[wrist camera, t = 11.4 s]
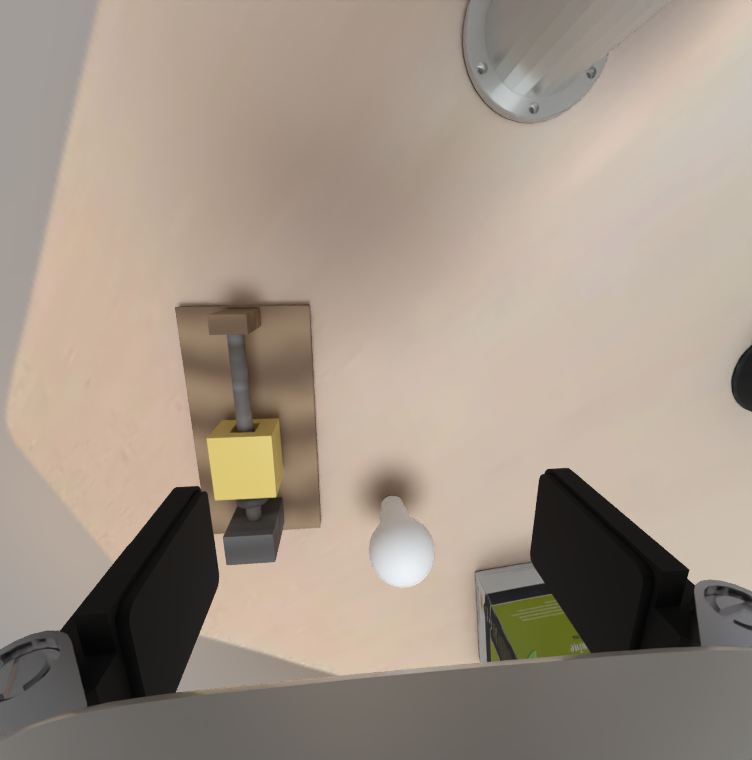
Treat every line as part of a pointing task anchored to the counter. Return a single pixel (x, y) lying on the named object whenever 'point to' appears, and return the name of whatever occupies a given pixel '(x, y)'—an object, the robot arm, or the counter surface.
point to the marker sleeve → (246, 460)
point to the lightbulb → (400, 546)
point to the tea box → (521, 617)
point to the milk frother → (743, 381)
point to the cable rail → (254, 413)
